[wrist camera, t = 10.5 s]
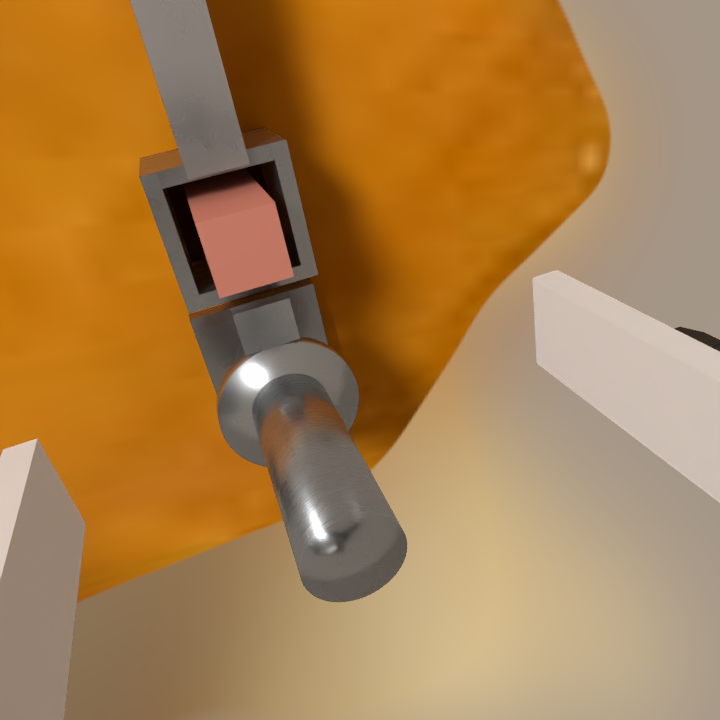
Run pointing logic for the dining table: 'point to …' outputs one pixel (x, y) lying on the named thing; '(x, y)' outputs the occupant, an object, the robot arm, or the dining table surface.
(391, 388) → the dining table surface
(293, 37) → the dining table surface
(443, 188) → the dining table surface
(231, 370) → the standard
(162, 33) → the bracket
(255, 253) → the wedge pin
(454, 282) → the dining table surface
